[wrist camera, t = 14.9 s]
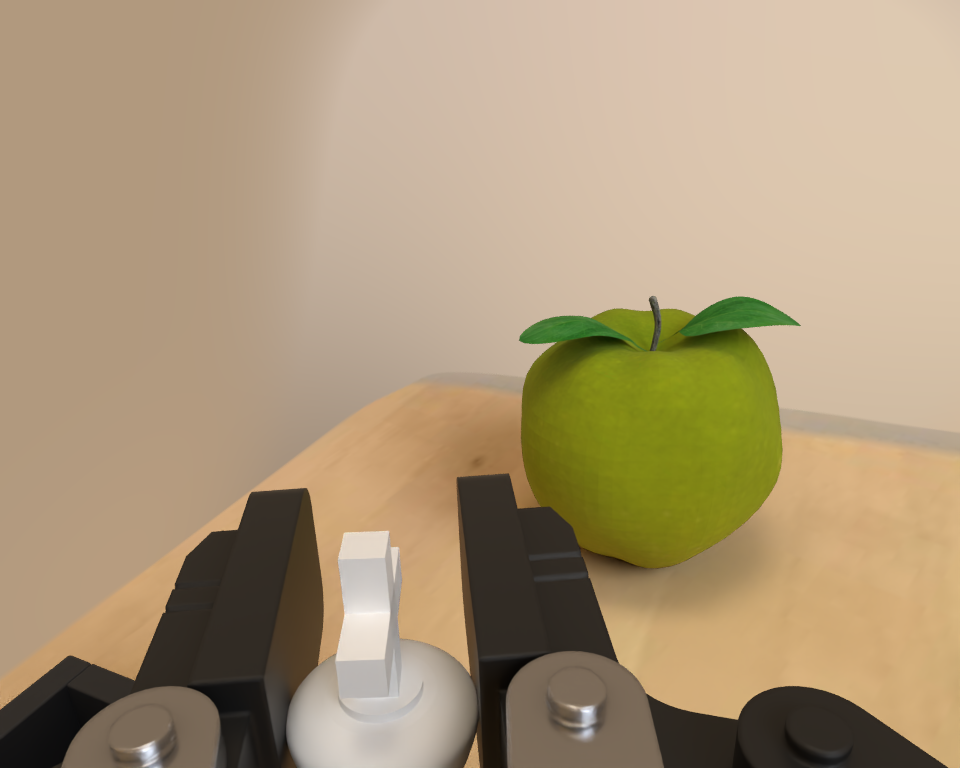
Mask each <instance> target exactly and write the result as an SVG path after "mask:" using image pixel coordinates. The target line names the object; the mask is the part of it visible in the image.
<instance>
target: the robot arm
mask: <svg viewBox="0 0 960 768" xmlns="http://www.w3.org/2000/svg"><path fill="white" fill-rule="evenodd" d="M457 500H458V519H459V538H460V557H461V575H462V590H463V603H464V615H465V625H466V635H467V645H468V654H469V664H470V674H471V678H472V680H473V682H474V685H475V687H476V692H477V702H478V713H479V720H478V726H477V731H476V733H477V743H478V752H479V762H480V768H948V767H946V766H945V765H943V764H942V763H941V762H939V761H938V760H936V759H935V758H933V757H932V756H930V755H929V754H927V753H926V752H925V751H923V750H922V749H920V748H919V747H917V746H916V745H914V744H913V743H912V742H910V741H909V740H907V739H906V738H904V737H903V736H901V735H900V734H898V733H897V732H896V731H894V730H893V729H891V728H890V727H888V726H887V725H885V724H884V723H882V722H881V721H880V720H878V719H877V718H875V717H874V716H872V715H871V714H869V713H868V712H866V711H865V710H864V709H862V708H860V707H859V706H857V705H855V704H854V703H852V702H850V701H848V700H846V699H844V698H842V697H840V696H838V695H835V694H832V693H829V692H826V691H823V690H819V689H814V688H809V687H800V686H785V687H778V688H773V689H770V690H767V691H764V692H762V693H760V694H758V695H756V696H754V697H753V698H752V699H751V700H750V701H748V702H747V704H746V705H745V706H744V708H743V709H742V711H741V713H740V716H739V719H738V720H735V719H729V718H724V717H718V716H712V715H706V714H700V713H695V712H690V711H686V710H681V709H678V708H675V707H672V706H669V705H667V704H664V703H662V702H660V701H658V700H656V699H654V698H653V697H651V696H649V695H648V694H646V693H645V690H644V689H643V687H642V685H641V684H640V682H639V681H638V680H637V678H636V677H635V676H634V675H633V674H632V673H631V672H630V671H628V670H627V669H626V668H625V667H623V666H622V665H620V664H619V662H618V660H617V658H616V655H615V652H614V649H613V646H612V643H611V640H610V637H609V634H608V631H607V628H606V625H605V622H604V619H603V616H602V613H601V610H600V607H599V604H598V601H597V598H596V595H595V592H594V589H593V586H592V583H591V580H590V578H588V571H587V568H586V565H585V563H584V560H583V557H581V551H580V548H579V545H578V542H577V539H576V536H575V533H574V530H573V527H572V526H571V525H570V524H569V523H568V522H567V521H566V520H564V519H563V518H562V517H561V516H560V515H559V514H558V513H557V512H556V511H554V510H553V509H552V508H551V507H536V508H523V509H517V505H516V500H515V496H514V492H513V488H512V483H511V479H510V476H509V474H495V475H481V476H468V477H457ZM323 613H324V606H323V587H322V578H321V571H320V563H319V556H318V549H317V542H316V534H315V527H314V520H313V513H312V505H311V500H310V495H309V492H308V490H307V488H301V489H287V490H273V491H260V492H252V493H251V494H250V495H249V498H248V501H247V504H246V507H245V510H244V513H243V516H242V519H241V522H240V525H239V528H238V530H231V531H218V532H211V533H210V534H209V535H208V536H207V537H206V538H205V539H204V540H203V541H202V542H201V543H200V544H199V545H198V546H197V547H196V548H195V549H194V550H193V551H192V552H190V553H189V554H188V555H187V556H186V558H185V561H184V563H183V566H182V568H181V570H180V573H179V575H178V578H177V580H176V583H175V589H174V590H172V592H171V595H170V597H169V600H168V602H167V604H166V612H165V613H163V614H162V617H161V619H160V622H159V624H158V626H157V629H156V631H155V634H154V636H153V639H152V641H151V643H150V646H149V648H148V651H147V653H146V656H145V658H144V660H143V663H142V665H141V668H140V670H139V673H138V675H137V677H136V680H135V682H134V685H133V687H132V690H131V692H130V695H128V696H126V697H124V698H121V699H119V700H118V701H116V702H114V703H112V704H110V705H109V706H107V707H106V708H104V709H103V710H101V711H100V712H99V713H97V714H96V715H95V716H94V717H92V718H91V719H90V720H89V721H88V722H87V723H86V724H85V725H84V726H83V727H82V728H81V729H80V731H79V732H78V733H77V734H76V736H75V737H74V739H73V740H72V742H71V744H70V746H69V748H68V750H67V752H66V755H65V758H64V761H63V762H62V763H60V764H58V765H56V766H54V767H52V768H297V766H296V765H295V763H294V761H293V759H292V756H291V754H290V751H289V748H288V744H287V740H286V723H287V715H288V710H289V705H290V702H291V700H292V698H293V696H294V694H295V692H296V690H297V689H298V687H299V686H300V684H301V683H302V682H303V680H304V679H305V678H306V677H307V676H308V675H309V674H310V673H311V672H312V671H313V670H314V669H315V668H316V667H317V666H318V660H319V652H320V645H321V638H322V630H323Z"/></svg>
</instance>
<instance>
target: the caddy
mask: <svg viewBox="0 0 960 768" xmlns="http://www.w3.org/2000/svg"><path fill="white" fill-rule="evenodd" d="M134 682H135V681H134V680H132V679H129V678H127V677H124V676H122V675H119V674H117V673H114V672H112V671H109V670H107V669H104V668H102V667H99V666H97V665H94V664H92V665H91V664H90V663H89V662H86V661H84V660H81V659H79V658H76V657H74V656H68V657H66V658H65V659H64V660H63V661H61V662H60V663H59V664H58V665H56V666H55V667H54V668H52V669H51V670H50V671H49V672H47V673H46V674H45V675H44V676H42V677H41V678H40V679H39V680H37V681H36V682H35V683H34V684H32V685H31V686H30V687H28V688H27V689H26V690H25V691H23V692H22V693H21V694H20V695H18V696H17V697H16V698H15V699H13V700H12V701H11V702H10V703H8V704H7V705H6V706H4V707H3V708H2V709H1V710H0V768H52V767H54V766H56V765H58V764H60V763H62V762H63V761H64V758H65V755H66V752H67V750H68V748H69V746H70V744H71V742H72V740H73V739H74V737H75V736H76V734H77V733H78V732H79V731H80V729H81V728H82V727H83V726H84V725H85V724H86V723H87V722H88V721H89V720H90V719H91V718H92V717H94V716H95V715H96V714H97V713H99V712H100V711H101V710H103V709H104V708H106V707H107V706H109V705H110V704H112V703H114V702H116V701H118V700H119V699H121V698H124V697H126V696H128V695H130V692H131V690H132V687H133V685H134Z"/></svg>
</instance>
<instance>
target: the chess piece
mask: <svg viewBox="0 0 960 768" xmlns="http://www.w3.org/2000/svg"><path fill="white" fill-rule="evenodd" d="M338 565H339V572H340V580H341V588H342V596H343V604H344V611H345V616H344V621H343V626H342V631H341V635H340V640H339V645H338V650H337V653H336V654H334V655H333V656H331V657H329V658H328V659H326V660H325V661H324V662H322V663H321V664H320V665H318V666H317V667H316V668H315V669H314V670H313V671H312V672H311V673H310V674H309V675H308V676H307V677H306V678H305V679H304V680H303V682H302V683H301V684H300V686H299V687H298V689H297V690H296V692H295V694H294V696H293V698H292V700H291V702H290V705H289V710H288V715H287V723H286V740H287V744H288V748H289V751H290V754H291V756H292V759H293V761H294V763H295V765H296V766H297V768H463V767H464V765H465V763H466V761H467V759H468V756H469V753H470V750H471V747H472V744H473V741H474V738H475V735H476V731H477V726H478V720H479V713H478V702H477V692H476V687H475V685H474V682H473V680H472V678H471V676H470V675H469V673H468V672H467V670H466V669H465V668H464V667H463V666H462V665H461V664H460V663H459V662H458V661H457V660H456V659H455V658H454V657H452V656H451V655H450V654H448V653H447V652H445V651H443V650H441V649H439V648H437V647H435V646H432V645H430V644H427V643H423V642H419V641H415V640H408V639H399V629H398V610H399V601H400V593H401V584H402V575H401V564H400V553H399V547H391V545H390V535H389V531H375V532H349V533H344V536H343V540H342V544H341V549H340V553H339V557H338Z"/></svg>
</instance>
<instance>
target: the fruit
mask: <svg viewBox="0 0 960 768" xmlns="http://www.w3.org/2000/svg"><path fill="white" fill-rule="evenodd" d="M649 302H650V305H651V308H652V311H635V310H628V309H612V310H608V311H605V312H602V313H600V314H598V315H596V316H594V317H592V318H588V317H583V316H560V317H553V318H549V319H545V320H542V321H540V322H538V323H536V324H534V325H532V326H531V327H529V328H528V329H526V330H525V331H524V332H523V333H522V334H521V336H520V339H519V341H521V342H523V343H529V344H542V343H552V342H557V343H555V344H554V345H553V346H551V347H550V348H549V349H547V350H546V351H545V352H544V353H543V354H542V355H541V356H540V357H539V358H538V359H537V360H536V361H535V362H534V363H533V365H532V366H531V368H530V370H529V372H528V373H527V376H526V379H525V383H524V387H523V395H522V422H521V443H522V455H523V461H524V467H525V472H526V475H527V479H528V482H529V484H530V487H531V489H532V491H533V494H534V496H535V498H536V499H537V501H538V503H539V505H540V506H541V507H551V508H552V509H553V510H554V511H556V512H557V513H558V514H559V515H560V516H561V517H562V518H563V519H564V520H566V521H567V522H568V523H569V524H570V525H571V526H572V527H573V530H574V533H575V536H576V539H577V542H578V545H579V546H581V547H583V548H585V549H587V550H589V551H591V552H594V553H597V554H601V555H605V556H610V557H615V558H618V559H621V560H624V561H626V562H629V563H631V564H634V565H636V566H640V567H644V568H662V567H669V566H672V565H676V564H679V563H681V562H684V561H686V560H688V559H690V558H691V557H693V556H695V555H697V554H699V553H700V552H702V551H704V550H706V549H708V548H710V547H711V546H713V545H715V544H716V543H718V542H719V541H721V540H722V539H724V538H726V537H727V536H728V535H730V534H731V533H732V532H734V531H735V530H736V529H737V528H739V527H740V526H741V525H742V524H744V523H745V522H746V521H747V520H748V519H749V518H750V517H751V516H752V515H753V514H754V513H755V512H756V511H757V510H758V509H759V508H760V507H761V505H762V504H763V502H764V501H765V500H766V498H767V497H768V496H769V494H770V493H771V491H772V489H773V487H774V486H775V484H776V482H777V479H778V476H779V472H780V469H781V463H782V438H781V425H780V416H779V406H778V401H777V394H776V388H775V385H774V381H773V378H772V374H771V372H770V369H769V367H768V364H767V362H766V360H765V358H764V355H763V354H762V352H761V351H760V349H759V348H758V346H757V345H756V343H755V342H754V340H753V339H752V338H751V337H750V336H749V335H748V334H747V333H746V332H745V331H744V330H743V329H741V328H749V327H760V326H772V325H796V326H800V325H799V324H798V323H797V322H796V321H795V320H793V319H792V318H790V317H789V316H787V315H786V314H784V313H783V312H781V311H779V310H777V309H776V308H774V307H773V306H771V305H769V304H767V303H765V302H762V301H760V300H757V299H754V298H749V297H732V298H728V299H725V300H722V301H719V302H717V303H715V304H713V305H711V306H709V307H708V308H706V309H705V310H703V311H702V312H700V313H699V314H698V315H696V316H694V315H692V314H689V313H687V312H684V311H682V310H677V309H661V310H659V306H658V302H657V298H656V297H655V296H651V297H650V298H649Z"/></svg>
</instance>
